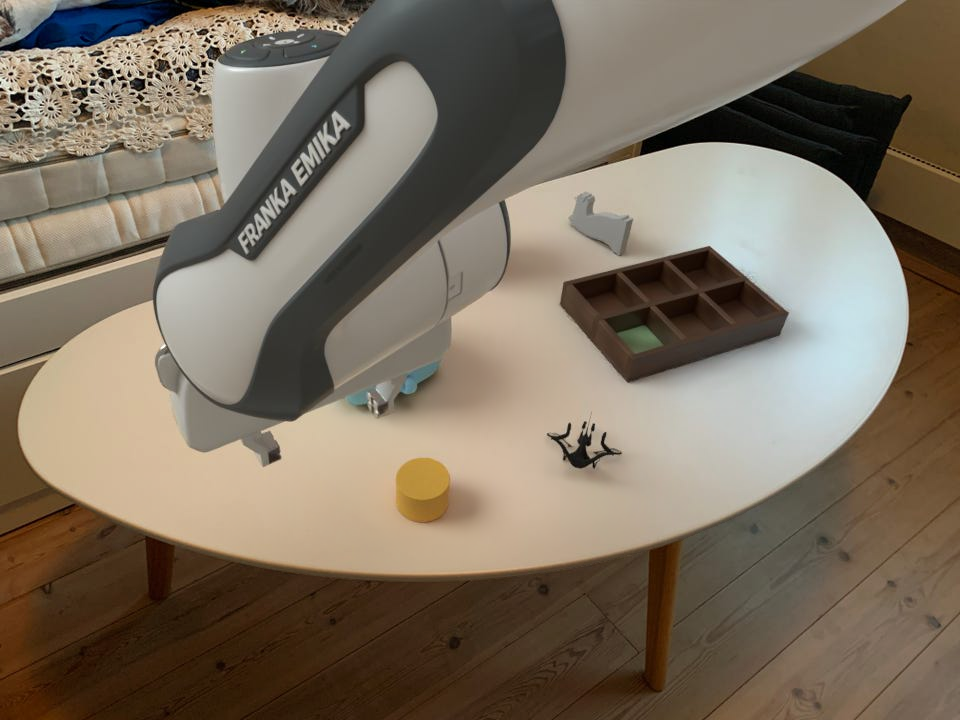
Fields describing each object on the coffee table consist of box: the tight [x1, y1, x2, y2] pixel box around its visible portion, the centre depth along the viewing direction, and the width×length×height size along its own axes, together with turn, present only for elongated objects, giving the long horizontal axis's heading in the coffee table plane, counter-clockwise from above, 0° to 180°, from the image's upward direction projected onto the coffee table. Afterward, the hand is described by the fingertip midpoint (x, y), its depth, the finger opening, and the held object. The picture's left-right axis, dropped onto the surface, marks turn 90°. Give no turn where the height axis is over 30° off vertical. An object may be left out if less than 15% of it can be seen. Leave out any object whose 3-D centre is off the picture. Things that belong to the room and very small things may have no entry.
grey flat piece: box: [568, 191, 634, 257], centre depth 108 cm, size 6×1×10 cm
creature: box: [546, 411, 622, 470], centre depth 78 cm, size 8×5×8 cm
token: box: [395, 457, 451, 523], centre depth 73 cm, size 5×5×3 cm
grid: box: [559, 245, 790, 383], centre depth 96 cm, size 15×23×4 cm
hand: (326, 433), depth 60 cm, fingers open, 8 cm apart
